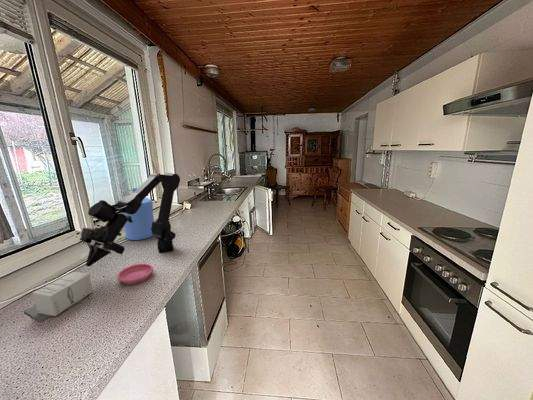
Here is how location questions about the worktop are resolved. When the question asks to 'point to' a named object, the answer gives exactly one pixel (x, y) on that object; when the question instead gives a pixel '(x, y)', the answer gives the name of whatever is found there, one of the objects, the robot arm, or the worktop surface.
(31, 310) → the dark rubber mat
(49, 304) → the supplement box
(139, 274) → the saucer
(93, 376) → the worktop surface
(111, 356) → the worktop surface
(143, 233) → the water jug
